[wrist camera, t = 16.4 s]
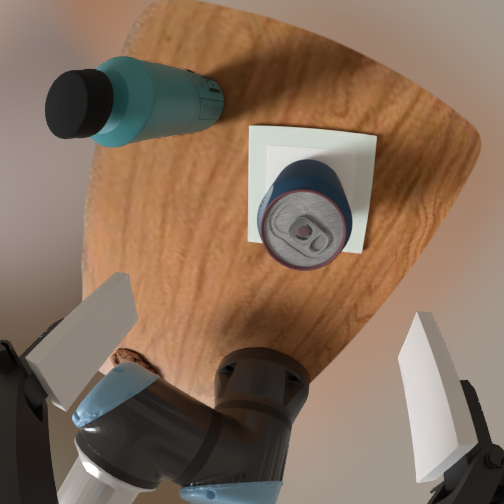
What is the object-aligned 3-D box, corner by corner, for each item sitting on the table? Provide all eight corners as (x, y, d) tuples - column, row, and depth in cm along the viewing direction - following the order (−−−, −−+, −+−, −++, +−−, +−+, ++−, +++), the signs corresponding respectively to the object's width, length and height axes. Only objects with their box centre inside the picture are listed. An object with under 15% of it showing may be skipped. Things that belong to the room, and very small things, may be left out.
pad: (360, 250, 32) (361, 253, 31) (249, 238, 34) (247, 241, 34) (375, 135, 26) (377, 136, 26) (250, 125, 29) (248, 125, 28)
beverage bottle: (242, 95, 28) (130, 68, 10) (208, 144, 31) (77, 186, 13) (196, 66, 27) (58, 30, 9) (165, 113, 30) (19, 131, 12)
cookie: (158, 390, 54) (152, 400, 51) (115, 367, 54) (108, 376, 52) (163, 364, 49) (156, 375, 47) (115, 338, 50) (107, 348, 47)
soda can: (262, 194, 31) (231, 236, 20) (303, 143, 28) (295, 157, 17) (312, 234, 32) (307, 295, 21) (355, 188, 28) (376, 229, 18)
